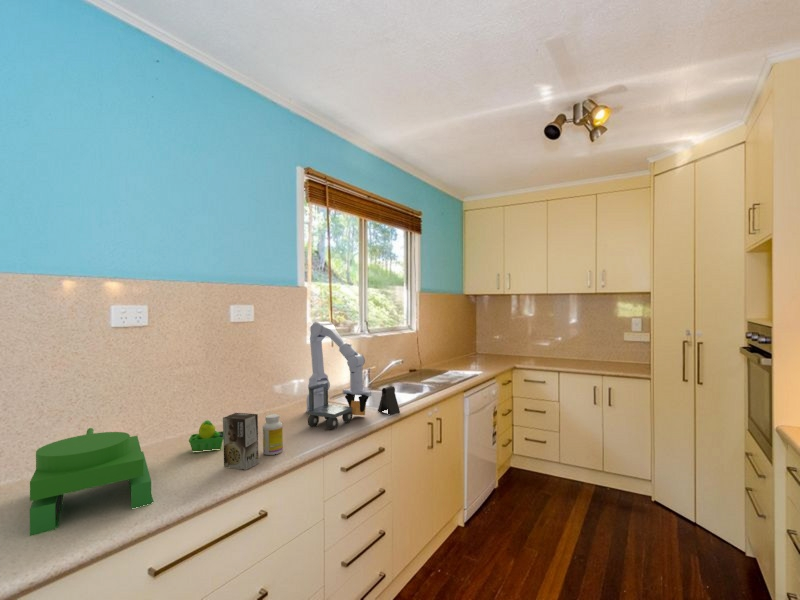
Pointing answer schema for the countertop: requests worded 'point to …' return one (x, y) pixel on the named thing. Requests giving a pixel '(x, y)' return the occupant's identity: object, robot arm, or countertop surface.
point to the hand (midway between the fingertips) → (357, 410)
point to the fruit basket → (206, 438)
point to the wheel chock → (356, 408)
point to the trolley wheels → (329, 420)
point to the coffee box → (240, 440)
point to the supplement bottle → (272, 435)
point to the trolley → (325, 404)
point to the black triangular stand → (389, 401)
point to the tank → (85, 473)
